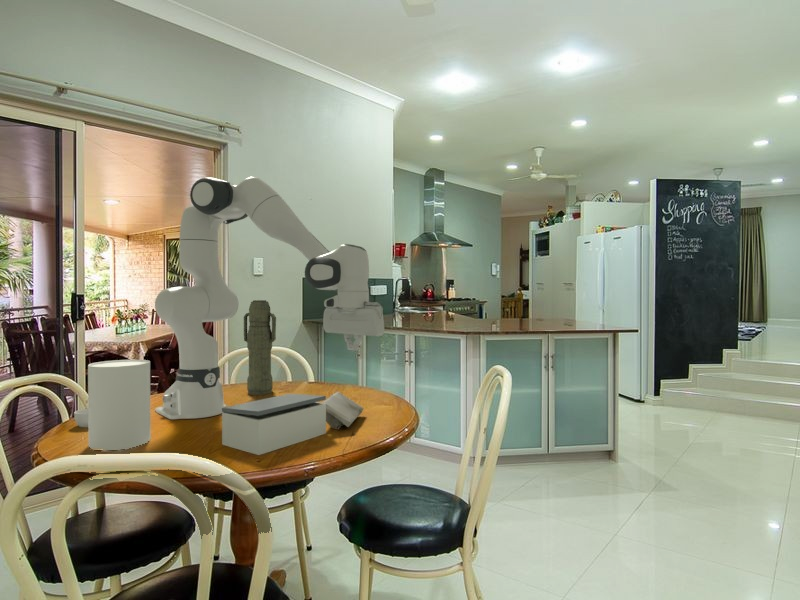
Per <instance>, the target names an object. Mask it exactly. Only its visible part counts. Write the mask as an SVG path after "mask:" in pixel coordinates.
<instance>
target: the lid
mask: <svg viewBox="0 0 800 600" xmlns="http://www.w3.org/2000/svg"><path fill="white" fill-rule="evenodd" d="M326 399H327V396H326V395H316V394H303V393H301V394H300V393H287V394H283V395H277V396H272V397H267V398H262V399H257V400H253V401H248V402H244V403H239V404H232V405H230V406H227V407H223V408H222V412H228V413H237V414H246V415H255V416H260V415H264V414H268V413H272V412H276V411H281V410H285V409H289V408H293V407H297V406H301V405H306V404H310V403H314V402H323V401H325V400H326Z"/></svg>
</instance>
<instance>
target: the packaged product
mask: <svg viewBox="0 0 800 600" xmlns="http://www.w3.org/2000/svg"><path fill="white" fill-rule="evenodd" d="M321 403H324V404H326V424H328V426H329V427H330V428H332V429H335V430H337V431H338V430H340V429H341V427H343V426H345V427H347V428H349V427H350V426H351V425H352V424H353V422H355V420H356V419H357V418H358V417H359V416H360V415H362V413H363V411H364V407H363V406H361V405H359V404H358V403H357V402H355V401H353V400H352V399H351V398H349V397H347V396H346V395H344V394H343V393H342V392H340V391H336V392H335V393H333V394H331V395H330V396H329V397H327V398H326V400H322V401H321Z"/></svg>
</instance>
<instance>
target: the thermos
mask: <svg viewBox="0 0 800 600" xmlns="http://www.w3.org/2000/svg"><path fill="white" fill-rule="evenodd" d="M248 322H249V326H248ZM276 332H277V317H276V315H275V314H274V313H271V306H270V303H269V301H267V300H265V299H264V300H261V299H260V300H259V299H257V300H252V301H251V302H250V304H249V308H248V312H246V313H245V315H244V316H243V341H244V342H246V343H247V344H246V345H247V351H248V377H247V380H246V381H247V383H246V384H247V386H246V387H247V388H246V389H247V394H248V395H250V396H251V395H253V396H263V395H269V394H271V393H272V392H273V375H272V349H273V342H275V341H276V340H277V339H276V338H277V337H276Z"/></svg>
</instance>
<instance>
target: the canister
mask: <svg viewBox="0 0 800 600" xmlns="http://www.w3.org/2000/svg"><path fill="white" fill-rule="evenodd" d="M87 384H88V385H87V395H88V396H87V398H88V399H87V400H88V401H87V404H88V406H87V407H88V408H87V409H88V427H87V428H88V435H87V436H88V448H89V447H90V448H92V449H103V450H118V451H121V450H120V449H125V450H129V448H131V449H133V448H132V447H135V448H137V447H136V446H138V447H140V446H139V445H141V446H143V445H142V444H144V445H145V443H146V444H147V443H149V442H150V441H151V437H152V436H151V435H152V433H151V361H150V360H148V359H147V360H146V359H119V360H118V359H115V360H104V361H98V362H92V363H91V362H90V363H88V365H87ZM148 441H149V442H148Z"/></svg>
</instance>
